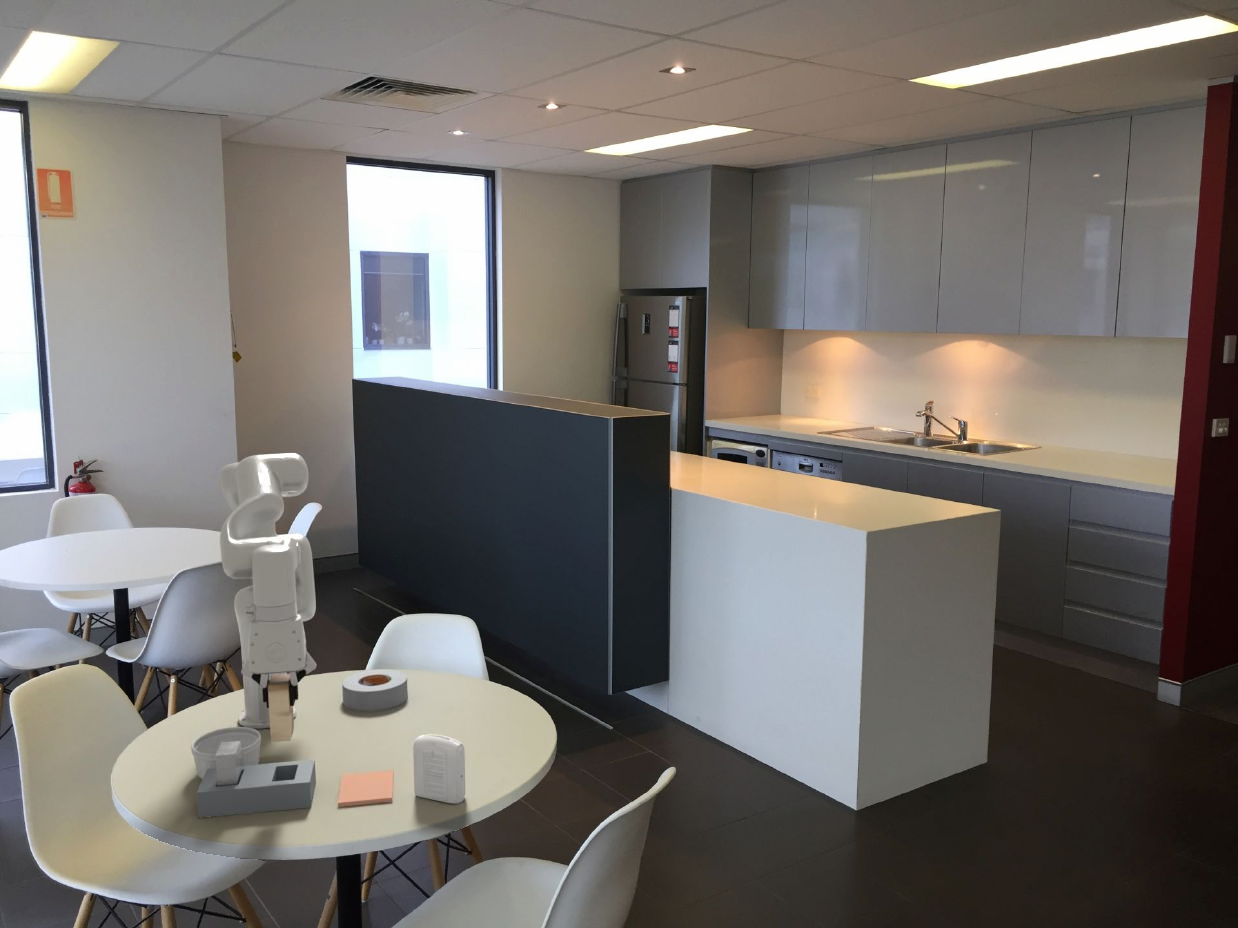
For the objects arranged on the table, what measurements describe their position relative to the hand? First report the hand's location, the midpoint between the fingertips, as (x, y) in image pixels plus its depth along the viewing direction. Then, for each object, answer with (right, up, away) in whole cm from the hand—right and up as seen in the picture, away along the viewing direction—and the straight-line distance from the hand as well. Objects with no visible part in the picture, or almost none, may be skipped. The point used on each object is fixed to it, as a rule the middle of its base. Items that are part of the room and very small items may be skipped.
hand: (281, 703), depth 188 cm
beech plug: (0, -6, +1) cm, 6 cm away
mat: (+15, -18, +6) cm, 24 cm away
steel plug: (-10, -19, +1) cm, 21 cm away
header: (-5, -19, +2) cm, 20 cm away
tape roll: (+5, -12, +52) cm, 54 cm away
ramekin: (-15, -17, +14) cm, 27 cm away
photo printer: (+30, -19, +3) cm, 35 cm away
